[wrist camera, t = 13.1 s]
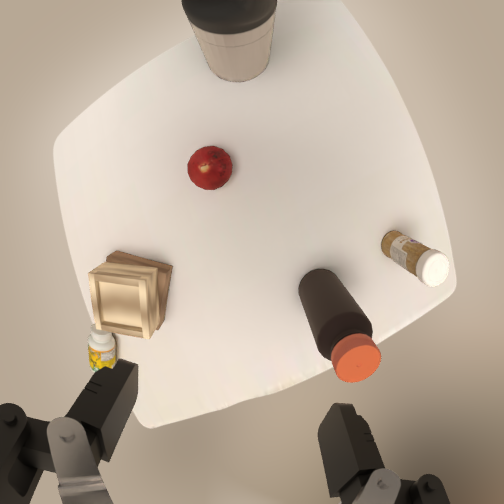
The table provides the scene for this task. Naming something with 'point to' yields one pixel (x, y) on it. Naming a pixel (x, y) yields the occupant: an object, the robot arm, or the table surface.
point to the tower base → (163, 269)
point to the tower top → (125, 299)
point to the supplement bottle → (101, 349)
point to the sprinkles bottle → (416, 258)
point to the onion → (210, 168)
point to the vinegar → (339, 326)
